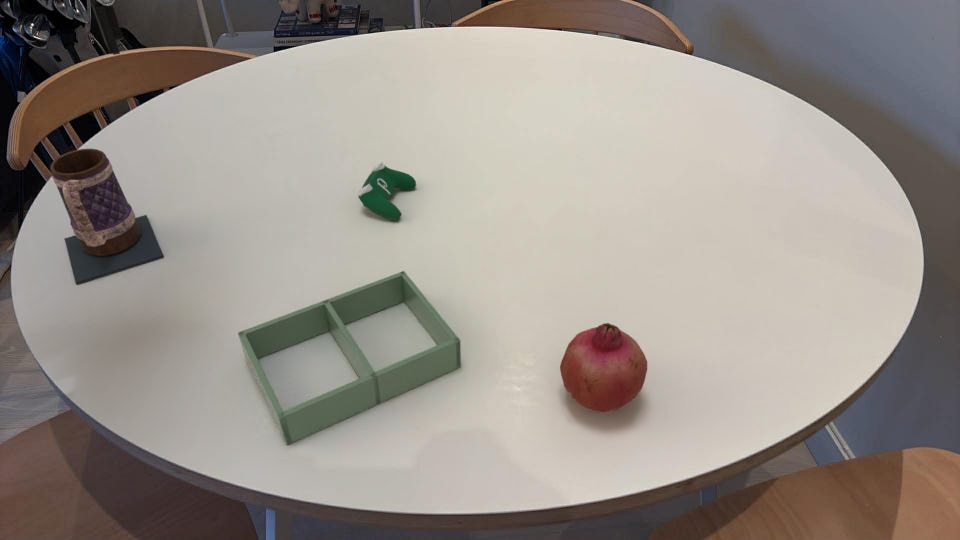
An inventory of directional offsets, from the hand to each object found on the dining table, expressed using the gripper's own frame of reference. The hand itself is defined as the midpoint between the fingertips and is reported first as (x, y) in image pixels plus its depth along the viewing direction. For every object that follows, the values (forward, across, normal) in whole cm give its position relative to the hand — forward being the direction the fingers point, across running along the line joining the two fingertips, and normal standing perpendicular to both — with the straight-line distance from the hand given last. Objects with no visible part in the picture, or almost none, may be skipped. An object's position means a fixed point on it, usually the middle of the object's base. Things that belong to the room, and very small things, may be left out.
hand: (51, 61), depth 58 cm
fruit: (+31, -35, +34) cm, 58 cm away
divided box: (+30, -16, +17) cm, 38 cm away
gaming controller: (+31, -32, -8) cm, 45 cm away
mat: (+30, +2, -16) cm, 35 cm away
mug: (+30, +2, -16) cm, 34 cm away
